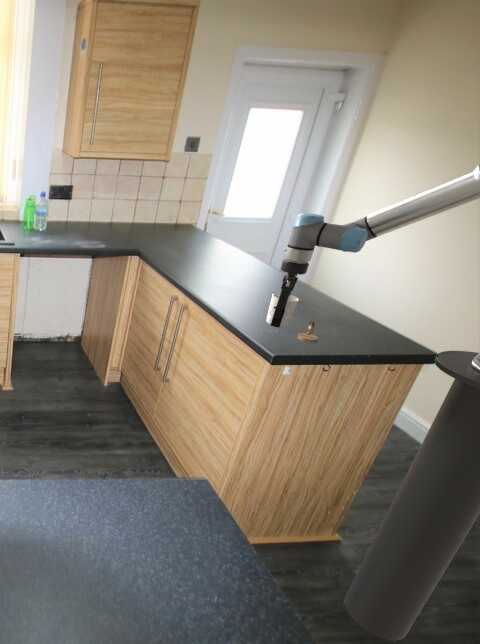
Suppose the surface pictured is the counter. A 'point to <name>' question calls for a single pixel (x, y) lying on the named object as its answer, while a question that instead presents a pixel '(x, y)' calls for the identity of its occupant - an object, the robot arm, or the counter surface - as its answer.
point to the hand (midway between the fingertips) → (276, 322)
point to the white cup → (288, 309)
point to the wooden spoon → (308, 334)
